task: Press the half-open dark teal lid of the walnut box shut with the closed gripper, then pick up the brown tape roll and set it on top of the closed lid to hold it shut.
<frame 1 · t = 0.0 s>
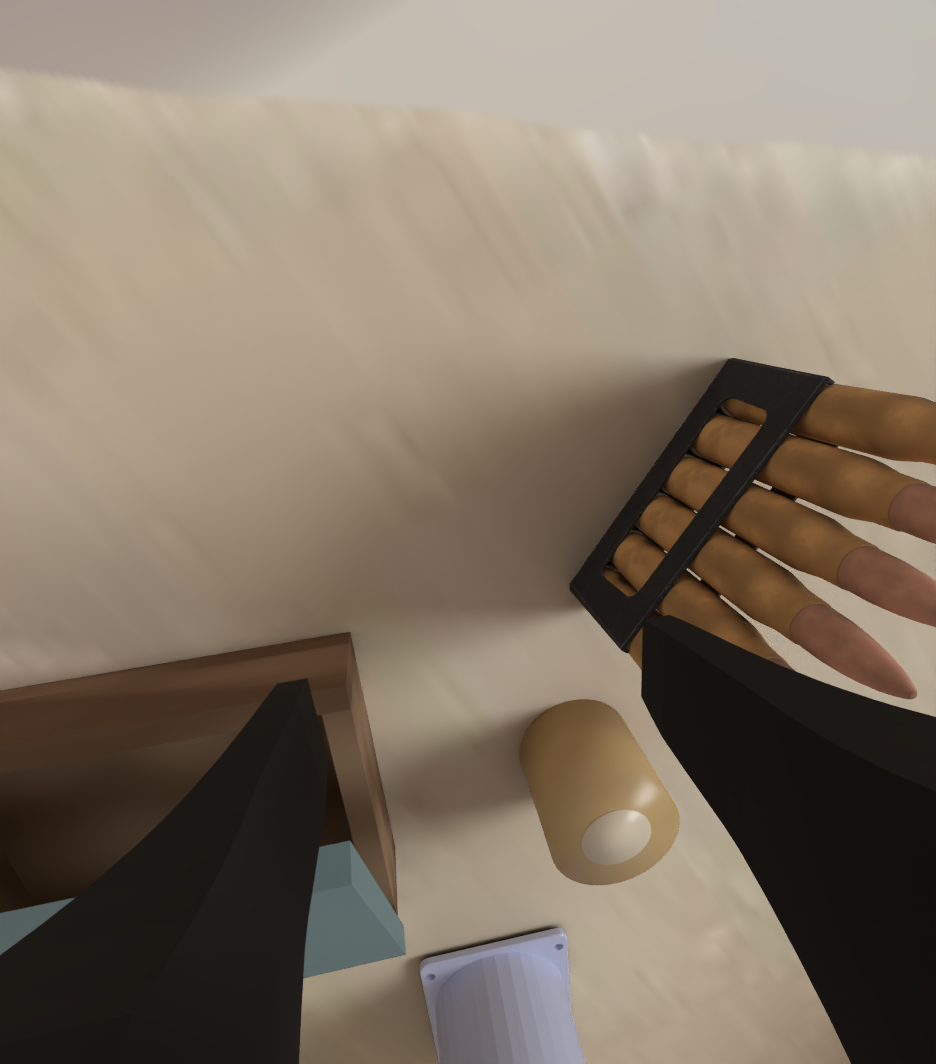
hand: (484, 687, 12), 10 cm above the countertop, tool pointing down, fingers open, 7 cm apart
walnut box: (185, 786, 24), on the countertop
ammunition clip: (659, 488, 22), on the countertop
lid: (126, 967, 18), point 7 cm above the countertop, hinge at 25.0°
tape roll: (573, 745, 26), on the countertop
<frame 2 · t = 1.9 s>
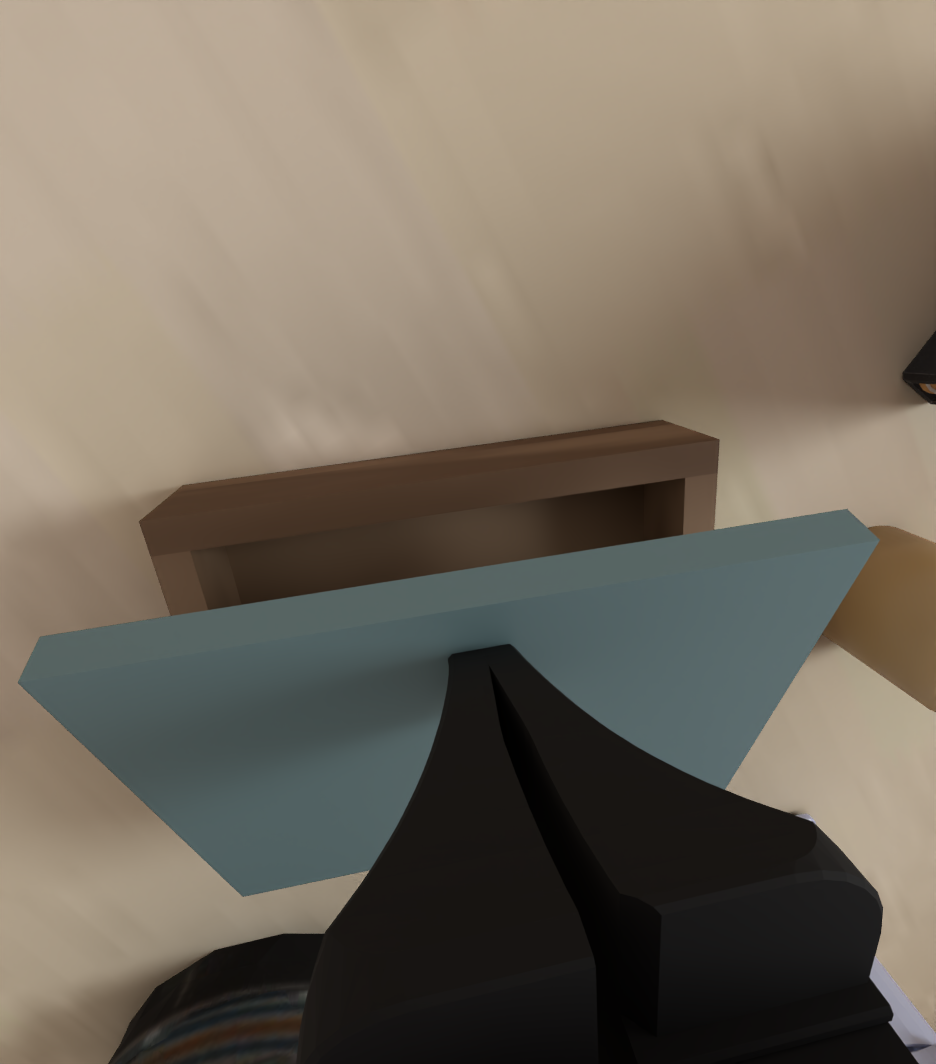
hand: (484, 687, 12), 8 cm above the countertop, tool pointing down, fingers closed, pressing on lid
walnut box: (453, 610, 21), on the countertop
lid: (484, 741, 15), point 6 cm above the countertop, hinge at 21.3°, touching gripper
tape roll: (863, 584, 23), on the countertop
beer stein: (263, 1037, 28), on the countertop
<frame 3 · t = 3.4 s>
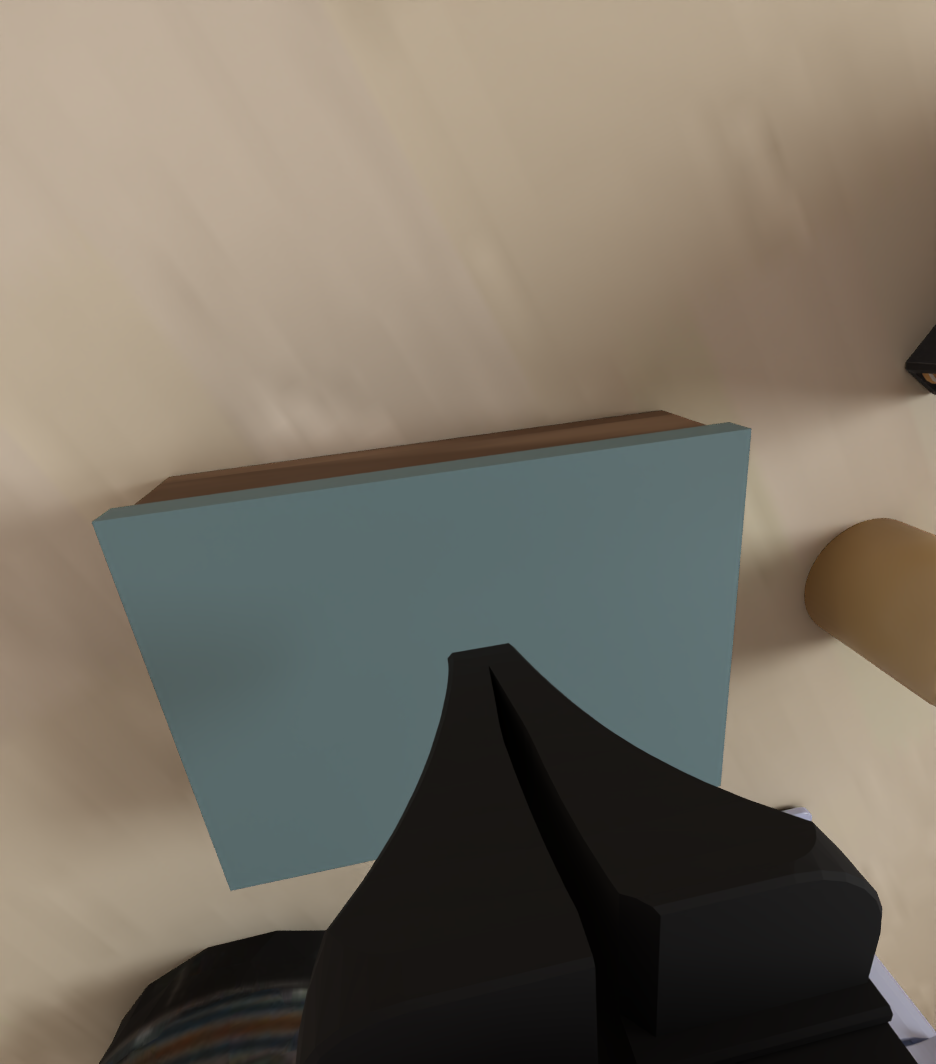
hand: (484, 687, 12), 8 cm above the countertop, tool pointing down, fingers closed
walnut box: (448, 604, 20), on the countertop
lid: (465, 669, 17), point 4 cm above the countertop, hinge at -0.3°
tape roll: (862, 577, 23), on the countertop
beer stein: (257, 1033, 27), on the countertop
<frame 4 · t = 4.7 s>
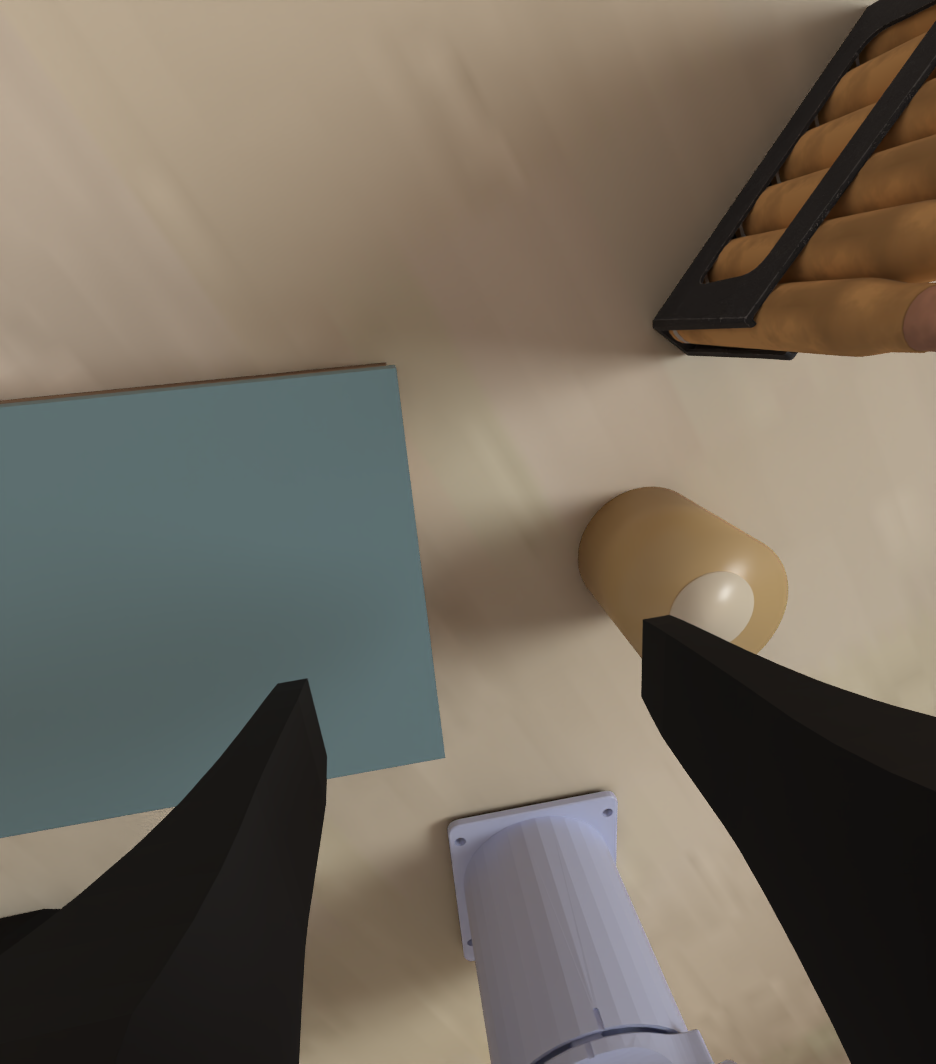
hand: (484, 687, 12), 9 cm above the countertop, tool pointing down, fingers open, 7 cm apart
walnut box: (178, 564, 19), on the countertop
ammunition clip: (767, 195, 18), on the countertop
lid: (131, 624, 16), point 4 cm above the countertop, hinge at -0.3°
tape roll: (641, 549, 22), on the countertop
beer stein: (43, 1017, 26), on the countertop
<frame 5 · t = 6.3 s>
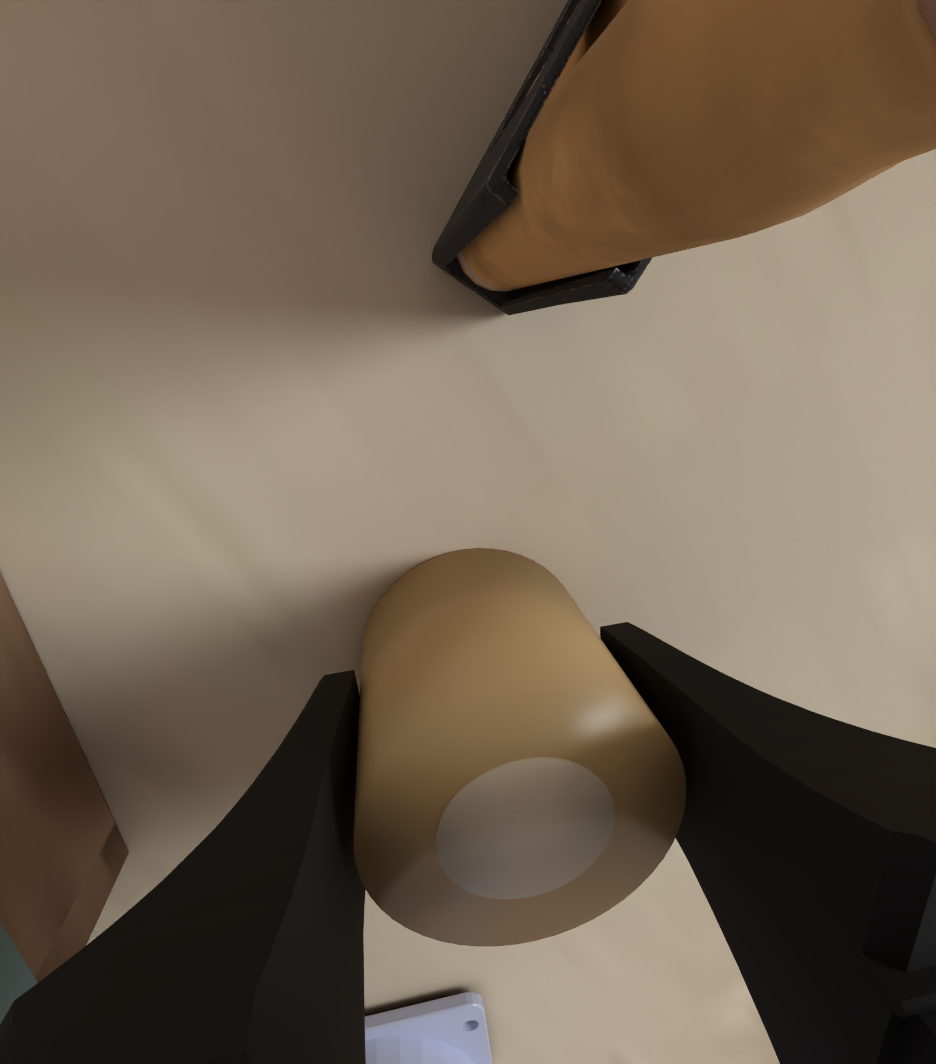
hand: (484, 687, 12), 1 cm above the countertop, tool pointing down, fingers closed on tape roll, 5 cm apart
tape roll: (473, 650, 13), on the countertop, touching gripper
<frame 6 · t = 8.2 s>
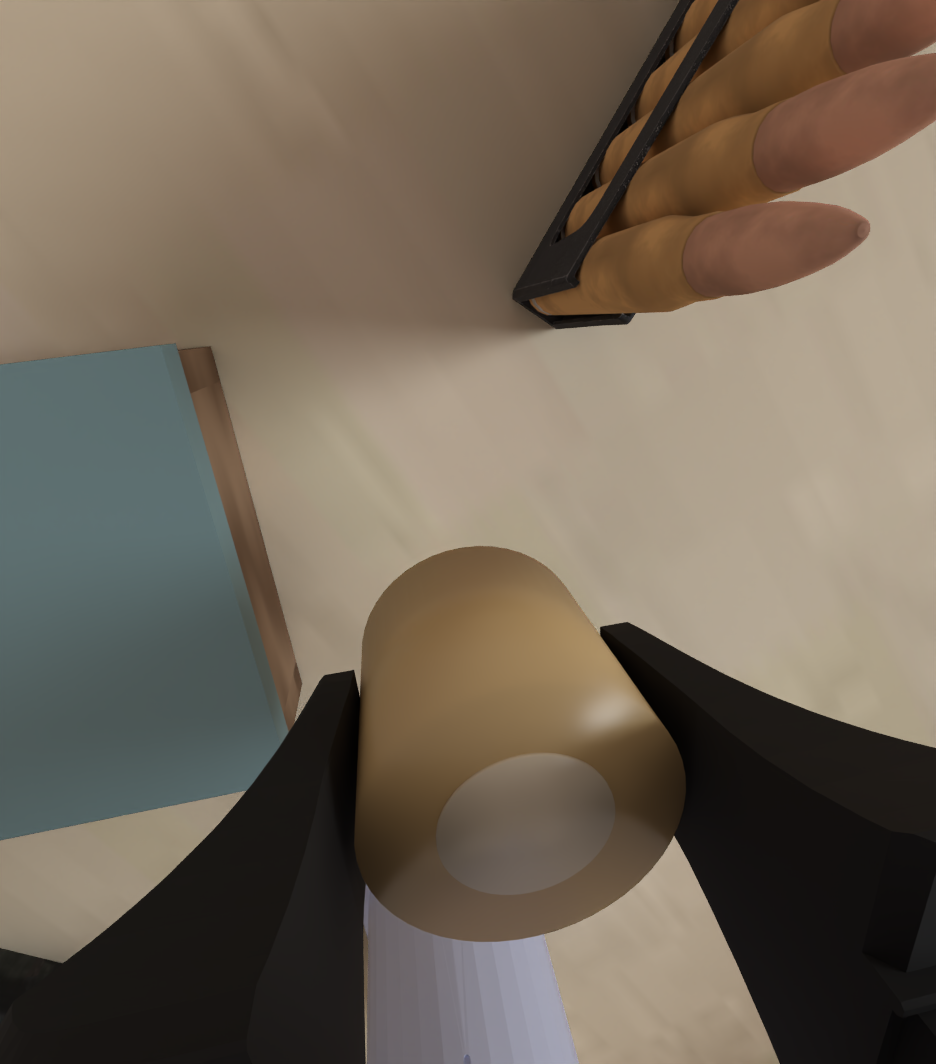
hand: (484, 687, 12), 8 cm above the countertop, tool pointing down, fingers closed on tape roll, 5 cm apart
walnut box: (4, 575, 18), on the countertop
ammunition clip: (630, 147, 16), on the countertop
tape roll: (473, 648, 13), point 7 cm above the countertop, touching gripper
when the fingers open (7 cm above the countertop, at t = 10.1 s): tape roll stays where it is, resting on lid.
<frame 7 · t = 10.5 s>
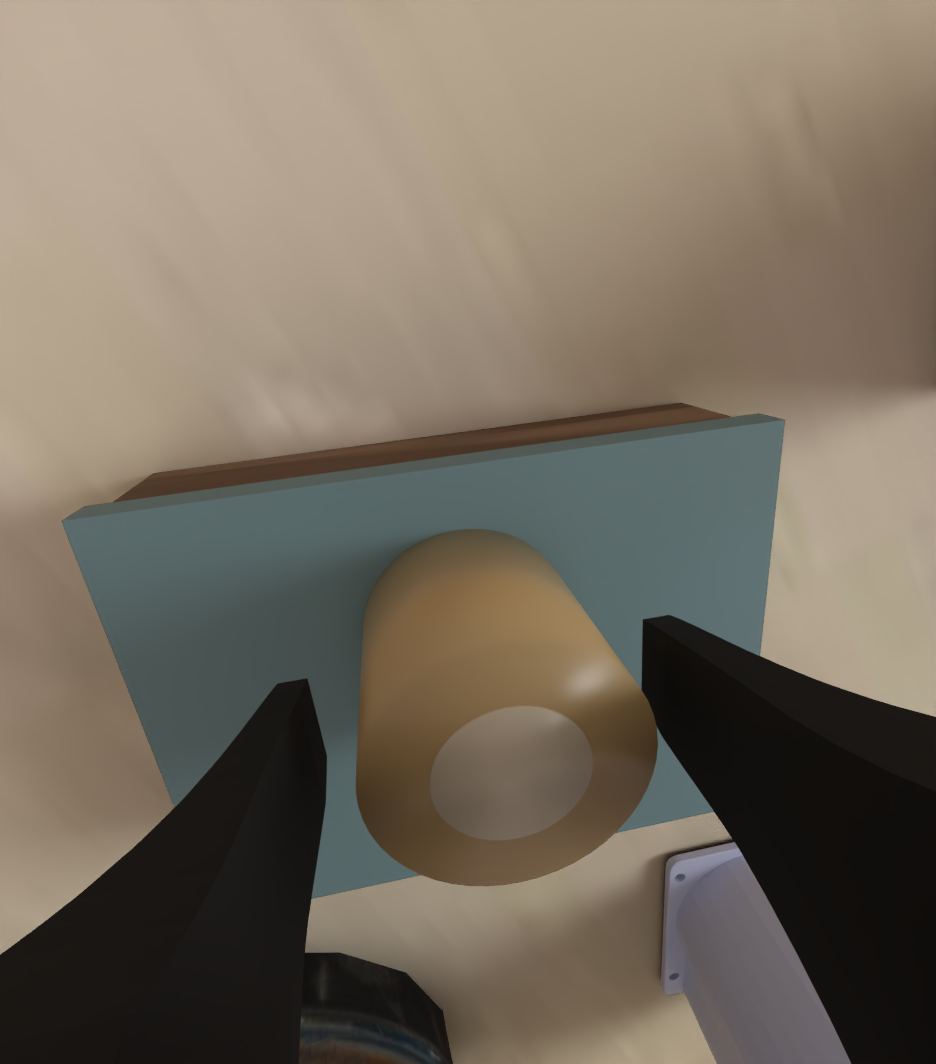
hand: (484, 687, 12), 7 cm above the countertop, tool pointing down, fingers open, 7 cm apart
walnut box: (452, 610, 19), on the countertop
lid: (471, 681, 15), point 4 cm above the countertop, hinge at -0.3°, touching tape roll
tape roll: (467, 625, 14), point 5 cm above the countertop, touching lid
beer stein: (251, 1059, 26), on the countertop
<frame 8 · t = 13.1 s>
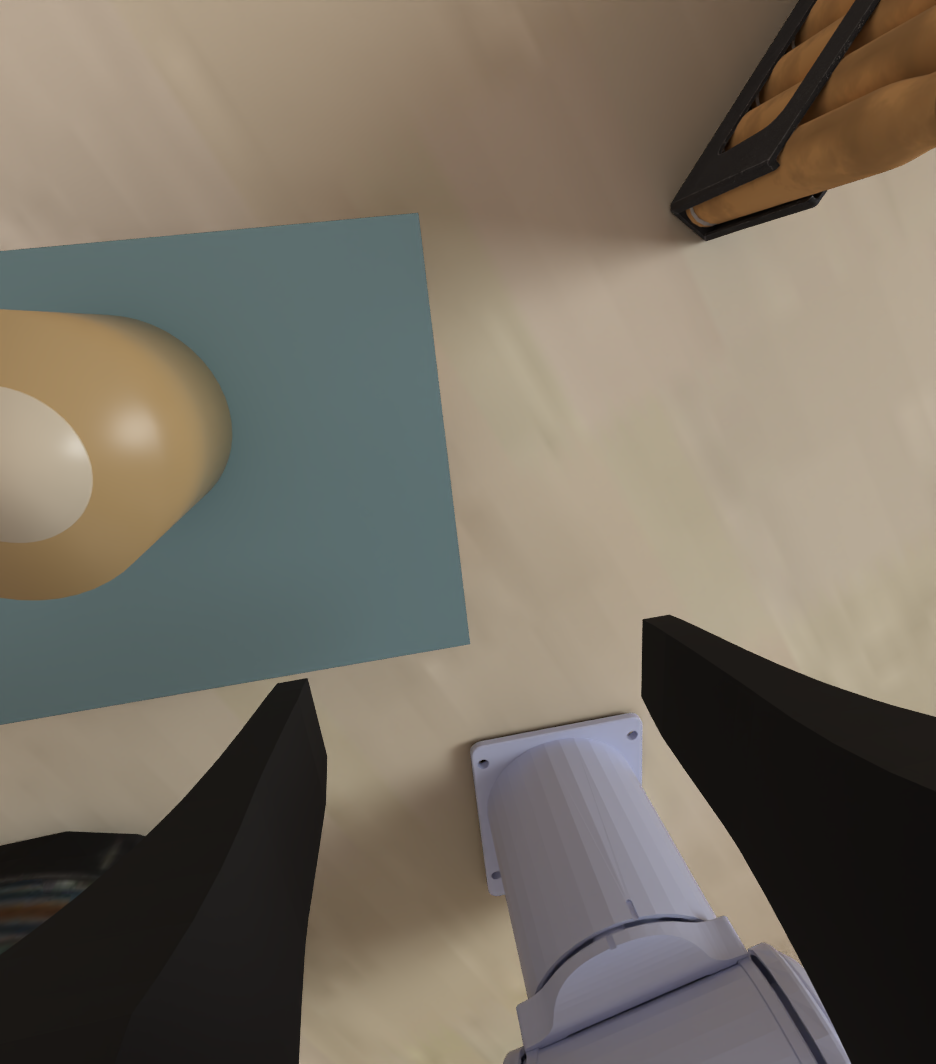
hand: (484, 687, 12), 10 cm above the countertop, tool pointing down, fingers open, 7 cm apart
ammunition clip: (782, 73, 18), on the countertop
lid: (156, 493, 16), point 4 cm above the countertop, hinge at -0.3°, touching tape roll
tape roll: (126, 422, 14), point 5 cm above the countertop, touching lid
beer stein: (66, 951, 26), on the countertop
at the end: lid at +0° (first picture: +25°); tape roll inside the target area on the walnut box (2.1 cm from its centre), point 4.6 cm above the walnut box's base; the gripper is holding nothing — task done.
